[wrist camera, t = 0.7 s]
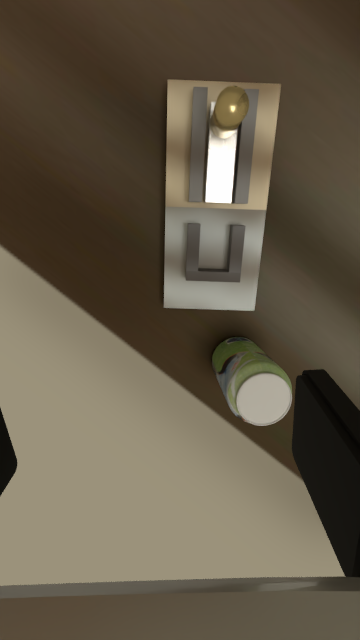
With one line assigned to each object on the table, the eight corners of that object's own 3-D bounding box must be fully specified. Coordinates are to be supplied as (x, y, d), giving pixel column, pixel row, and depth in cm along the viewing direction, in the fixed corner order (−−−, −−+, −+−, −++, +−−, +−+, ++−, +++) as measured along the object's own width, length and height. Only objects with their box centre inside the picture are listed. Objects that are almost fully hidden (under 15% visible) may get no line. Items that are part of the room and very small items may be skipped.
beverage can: (206, 374, 40) (217, 441, 28) (217, 320, 37) (234, 369, 26) (255, 381, 40) (285, 449, 29) (269, 327, 38) (307, 379, 26)
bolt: (209, 107, 28) (217, 79, 22) (236, 108, 28) (251, 81, 22) (204, 202, 31) (210, 200, 25) (228, 203, 31) (240, 202, 25)
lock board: (168, 87, 29) (166, 70, 26) (274, 91, 30) (287, 75, 26) (164, 302, 36) (162, 312, 33) (250, 305, 37) (258, 316, 33)
